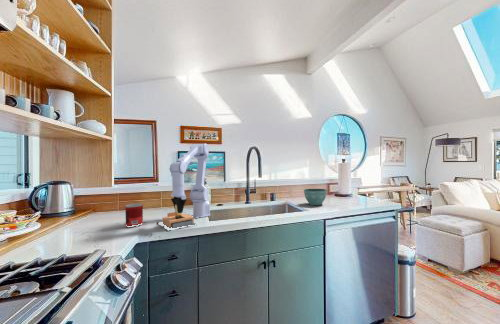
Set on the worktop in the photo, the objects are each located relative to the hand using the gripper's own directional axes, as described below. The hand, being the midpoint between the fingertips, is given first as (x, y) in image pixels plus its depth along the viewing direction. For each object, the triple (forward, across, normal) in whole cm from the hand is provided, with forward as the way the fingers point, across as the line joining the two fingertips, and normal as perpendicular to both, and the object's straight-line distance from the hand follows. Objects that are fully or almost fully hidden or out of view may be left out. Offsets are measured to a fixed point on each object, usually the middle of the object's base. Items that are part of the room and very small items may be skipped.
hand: (178, 212), depth 108 cm
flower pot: (+7, +16, +96) cm, 98 cm away
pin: (+3, 0, 0) cm, 3 cm away
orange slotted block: (+6, -2, 0) cm, 6 cm away
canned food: (+7, -18, -17) cm, 26 cm away
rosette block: (+7, -4, 0) cm, 8 cm away
